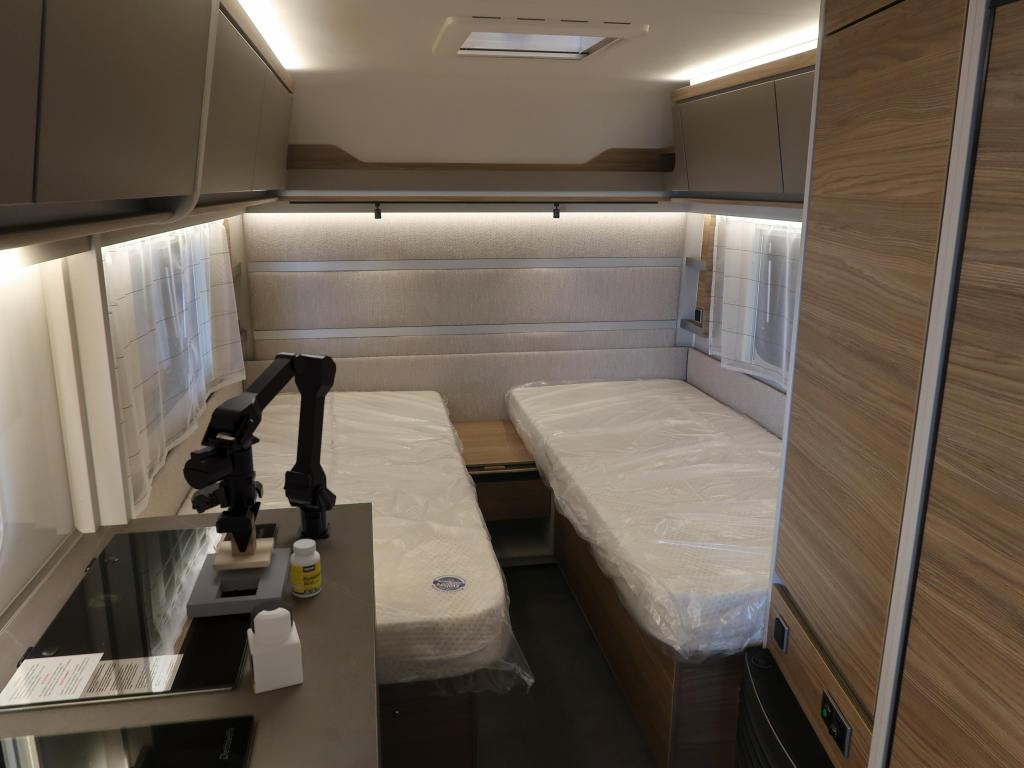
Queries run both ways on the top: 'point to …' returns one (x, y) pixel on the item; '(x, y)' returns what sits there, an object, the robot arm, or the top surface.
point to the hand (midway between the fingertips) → (244, 546)
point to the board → (238, 586)
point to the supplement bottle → (305, 569)
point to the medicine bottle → (274, 647)
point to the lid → (244, 554)
